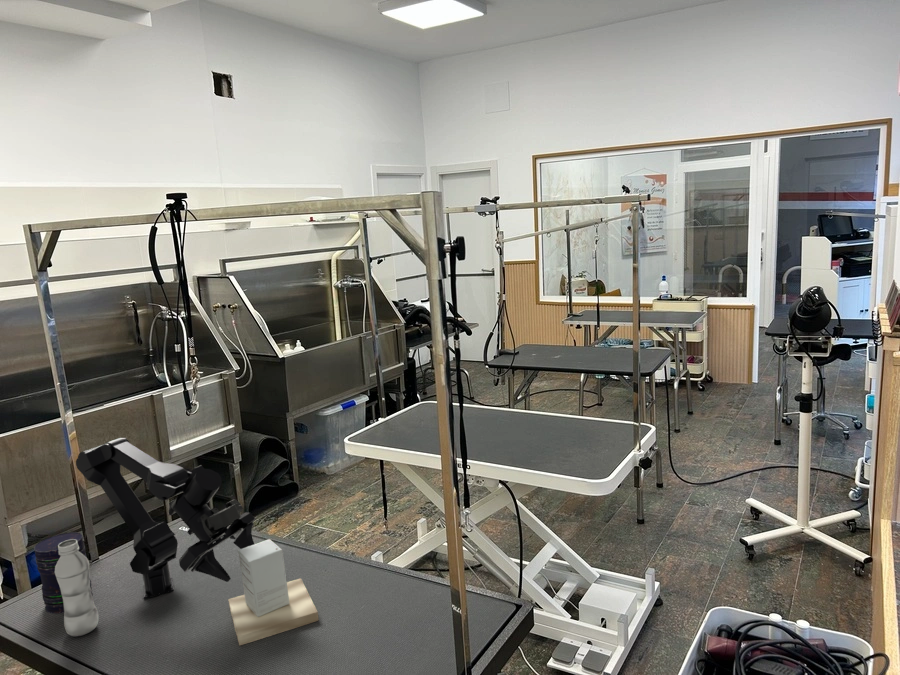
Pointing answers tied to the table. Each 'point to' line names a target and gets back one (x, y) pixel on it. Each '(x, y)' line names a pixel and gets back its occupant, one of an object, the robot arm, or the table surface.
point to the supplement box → (263, 577)
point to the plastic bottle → (75, 589)
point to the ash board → (273, 615)
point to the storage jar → (53, 568)
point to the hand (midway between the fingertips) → (244, 569)
